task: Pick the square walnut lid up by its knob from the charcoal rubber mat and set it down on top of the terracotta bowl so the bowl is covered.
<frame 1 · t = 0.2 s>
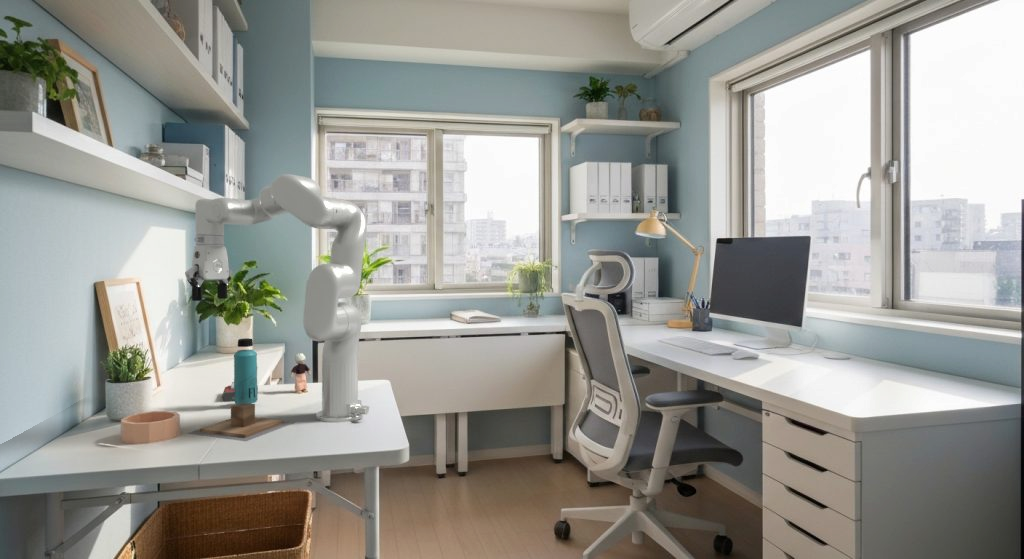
hand: (210, 299, 188), 31 cm above the table, fingers open, 9 cm apart
beverage bottle: (245, 407, 186), on the table
bowl: (151, 437, 154), on the table
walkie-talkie: (239, 396, 201), on the table
grandmother figurine: (299, 392, 206), on the table
lid: (243, 427, 163), resting on mat
mat: (243, 429, 163), on the table
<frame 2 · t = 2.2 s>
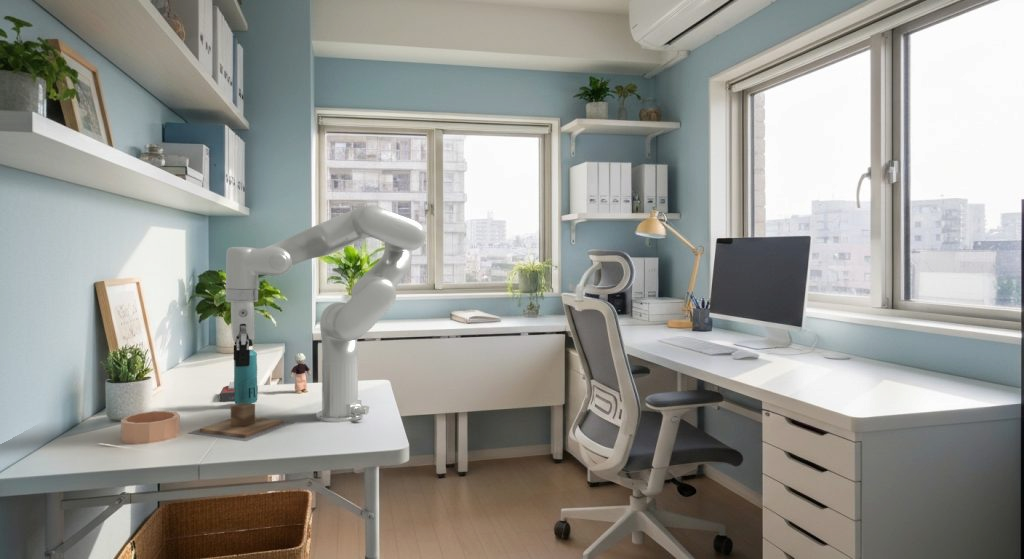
hand: (241, 363, 162), 17 cm above the table, fingers open, 9 cm apart
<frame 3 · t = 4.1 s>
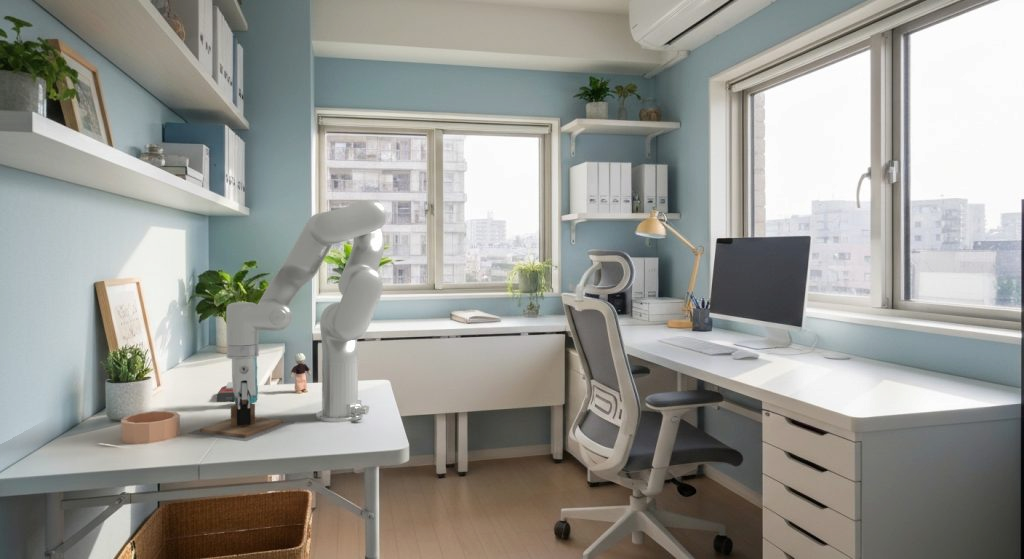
hand: (242, 420, 163), 2 cm above the table, fingers closed on lid, 5 cm apart
lid: (243, 427, 163), resting on mat, touching gripper
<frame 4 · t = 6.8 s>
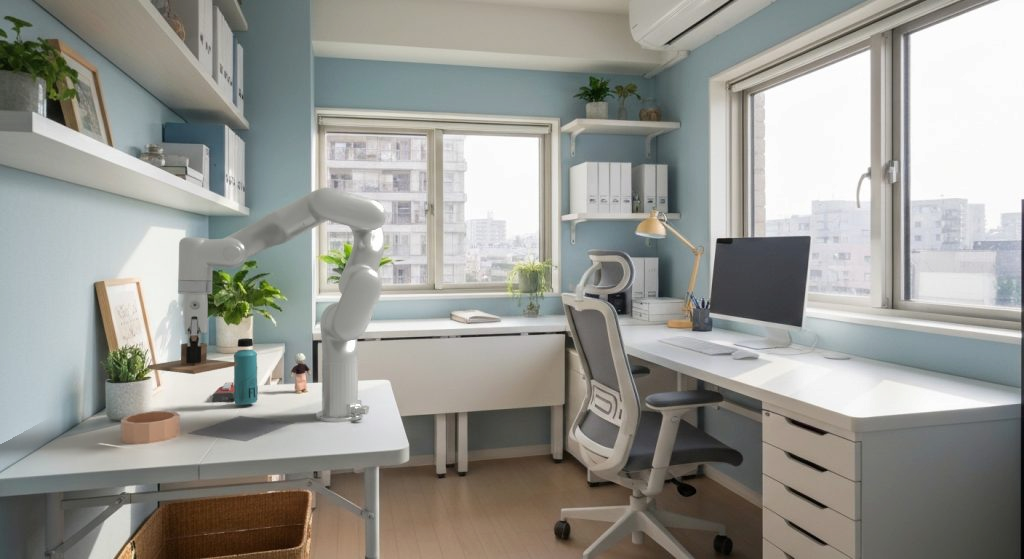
hand: (193, 360, 157), 18 cm above the table, fingers closed on lid, 5 cm apart
lid: (193, 367, 157), point 17 cm above the table, touching gripper
when the fingers open (8 cm above the table, at t = 9.6 s): lid drops 1 cm, resting on bowl.
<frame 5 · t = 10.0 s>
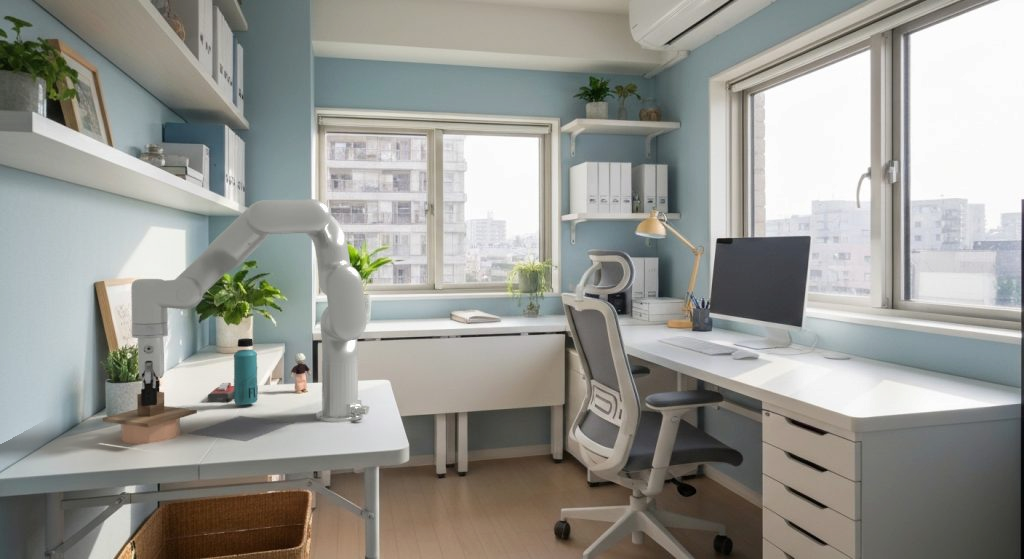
hand: (150, 400, 154), 9 cm above the table, fingers open, 9 cm apart
lid: (151, 417, 154), point 5 cm above the table, touching bowl
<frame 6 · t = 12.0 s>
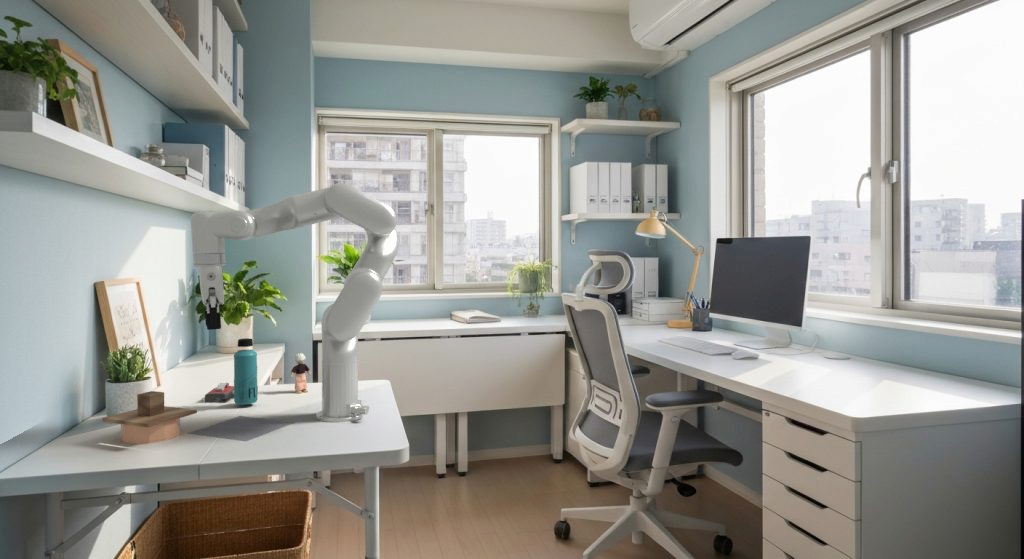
hand: (213, 327, 164), 26 cm above the table, fingers open, 9 cm apart
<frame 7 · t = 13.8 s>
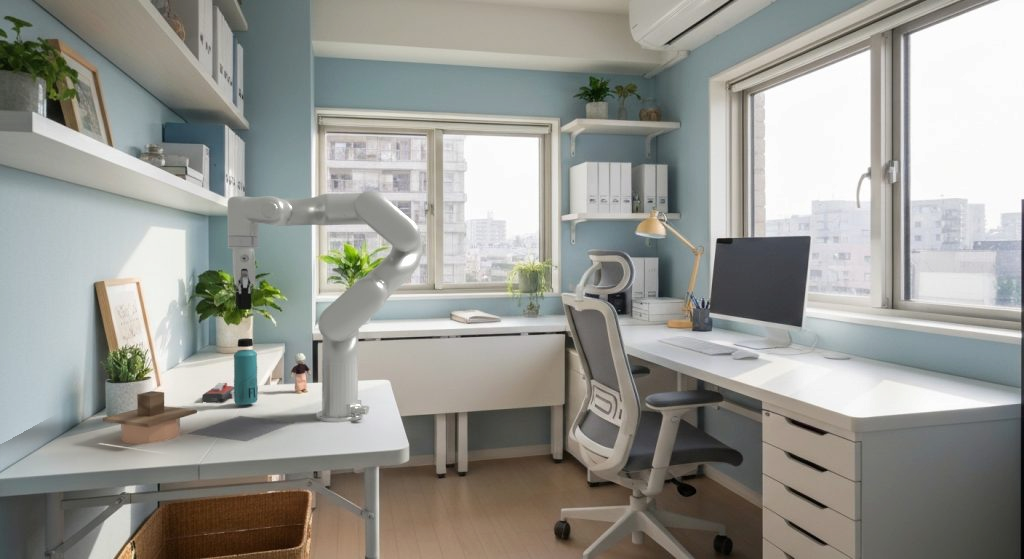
hand: (243, 307, 170), 30 cm above the table, fingers open, 9 cm apart
at the end: lid 0.0 cm off-centre on the bowl, point 5.0 cm above the bowl's base; lid tilted 0°; the gripper is holding nothing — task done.
